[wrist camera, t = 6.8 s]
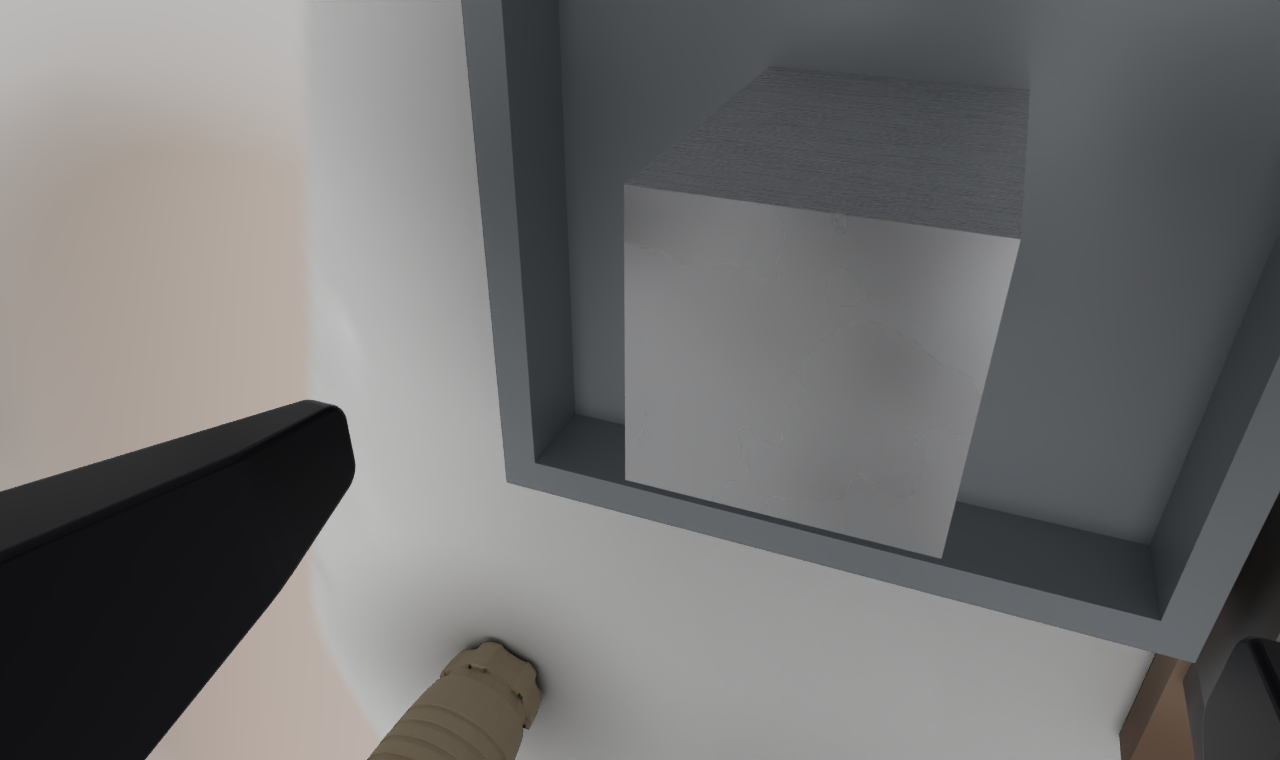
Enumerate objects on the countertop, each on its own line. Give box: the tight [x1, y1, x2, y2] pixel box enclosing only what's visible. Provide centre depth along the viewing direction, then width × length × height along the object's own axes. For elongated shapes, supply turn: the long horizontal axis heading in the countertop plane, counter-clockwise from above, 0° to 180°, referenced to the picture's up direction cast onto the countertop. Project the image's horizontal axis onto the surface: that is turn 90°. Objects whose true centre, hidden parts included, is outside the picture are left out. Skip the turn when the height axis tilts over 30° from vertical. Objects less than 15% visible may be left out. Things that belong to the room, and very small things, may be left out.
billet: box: [624, 66, 1030, 559], centre depth 14 cm, size 4×4×7 cm
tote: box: [461, 0, 1280, 663], centre depth 16 cm, size 15×15×3 cm
